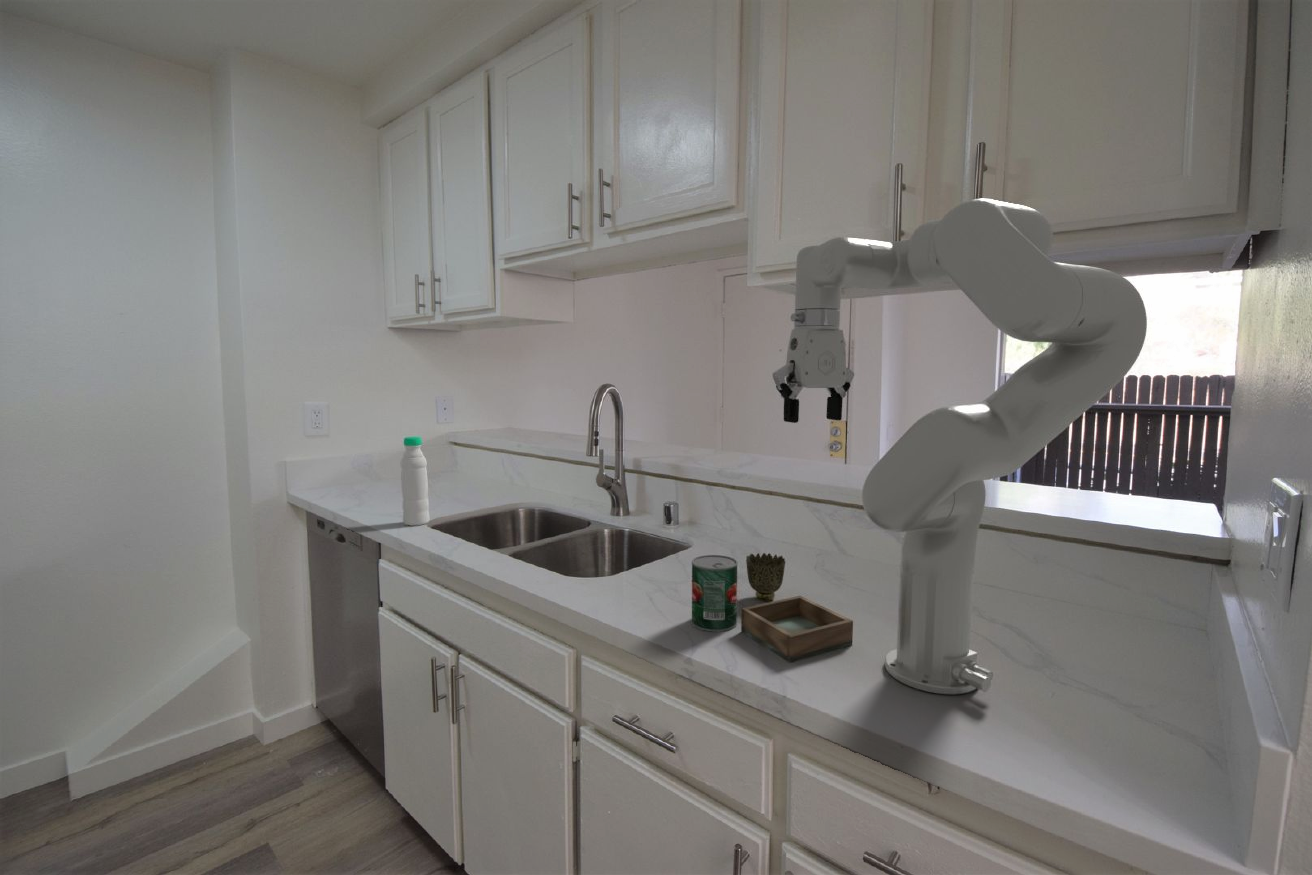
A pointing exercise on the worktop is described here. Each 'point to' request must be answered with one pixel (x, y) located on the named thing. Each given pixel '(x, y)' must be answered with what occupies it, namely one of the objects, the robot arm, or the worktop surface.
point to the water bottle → (414, 483)
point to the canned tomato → (714, 593)
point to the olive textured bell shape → (765, 574)
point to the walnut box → (796, 628)
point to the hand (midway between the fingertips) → (812, 420)
